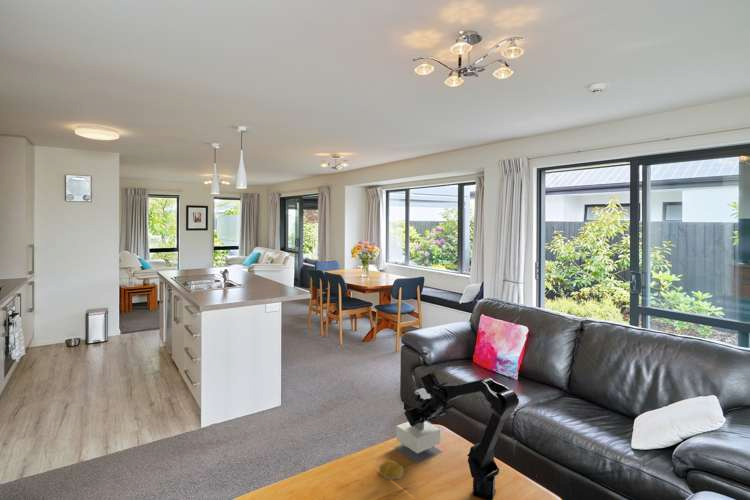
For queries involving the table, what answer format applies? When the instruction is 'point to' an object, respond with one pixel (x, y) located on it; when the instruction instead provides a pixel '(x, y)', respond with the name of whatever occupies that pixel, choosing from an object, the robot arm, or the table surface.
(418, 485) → the table surface
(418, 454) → the mat
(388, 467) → the bread roll
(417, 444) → the cover
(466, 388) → the robot arm
